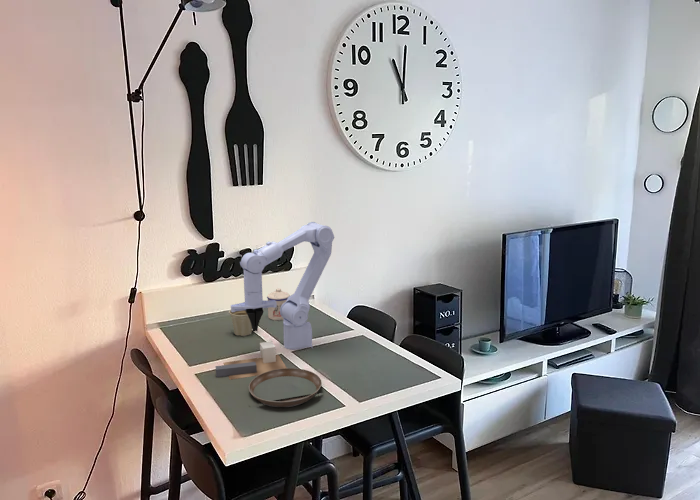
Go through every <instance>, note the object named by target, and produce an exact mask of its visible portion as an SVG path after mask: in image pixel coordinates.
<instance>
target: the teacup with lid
mask: <svg viewBox="0 0 700 500" xmlns="http://www.w3.org/2000/svg"><path fill="white" fill-rule="evenodd" d="M289 296H291V294H289V293H288V292H286V291H283V290H282V289H281V288H278V287H277V288H276V289H275V290H274V291H273V292H270V293H268V294H267V296H266V298H267V300H275V301H276V303H277V307H276V308H273V307H269V308H267V314H268V319H270V320H273V321H283V317H282V316H281V315H280V308H281V306H282V304H283V303H285V302H286V300H287V299H288V297H289Z"/></svg>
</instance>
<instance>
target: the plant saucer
mask: <svg viewBox="0 0 700 500" xmlns="http://www.w3.org/2000/svg"><path fill="white" fill-rule="evenodd" d="M280 377H295V378H302V379H306V380H307V381H310V382H311V383H312V384H314V386H315V387H316V388H315V389H316V390H315V391H314V392H313V393H311V394H310V393H309V394H303V395H298V396H292V397H286V398H280V399H274V400H270V399H269V400H268V399H263V398H261V397H258V396H256V395H255V393H254V391H255V389H256V387H257V386H258V385H259V384H261V383H263V382H265V381H267V380H271V379H275V378H280ZM321 386H322V378H321V377H320V376H319V375H318V374H317V373H315V372H313V371H311V370H307V369H303V368H295V367H293V368H292V367H291V368H289V367H287V368H283V369H276V370H271V371H268V372H265V373H262V374H260V375H258V376H254V377H253V379H251V381H250V382H249V385H248V391H249V393H250V394H251V395H252V396H253V398H254V399H255V400H257V401H258V402H260V403H261V404H263V405H265V406H269V407H273V408H289V407H295V406H300V405H301V404H302V405H303V404H305V403H307V402H308V401H310V400H311V399H312V398H314V397H315V396H316V394H317V393H318V392H320V391H319V390H320V389H321Z"/></svg>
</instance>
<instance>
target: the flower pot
mask: <svg viewBox="0 0 700 500" xmlns="http://www.w3.org/2000/svg"><path fill="white" fill-rule="evenodd" d="M228 313H229V314H230V317H231V321H232V328H233V332H234V335H235V336H241V337H244V336H245V337H246V336H249V335H251V334H252V332H253V330H252V326H251V322H250V319H249V317H248V315H247V313H246V311H245V310H243V311H235V312H231V309H230V310H229V311H228Z"/></svg>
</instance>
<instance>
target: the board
mask: <svg viewBox="0 0 700 500" xmlns="http://www.w3.org/2000/svg"><path fill="white" fill-rule="evenodd" d="M248 362H256V369H257V372H256V373H248V374H239V375H231V376H227V377H228V380H230V381H231V380H238V379H244V378H251V377H257V376H258V375H260V374H262V373H265V372H268V371H271V370H276V369H283V368H288V367H287V366H286V363H284V362H283V359H282V358H281V356H280V355H279V354H276V362H270V363H263V358H261V357H260V356H258V357H254V358H246V359H239V360H232V361H225V362H223V363H222V364H223V365H231V364H240V363H248Z"/></svg>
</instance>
